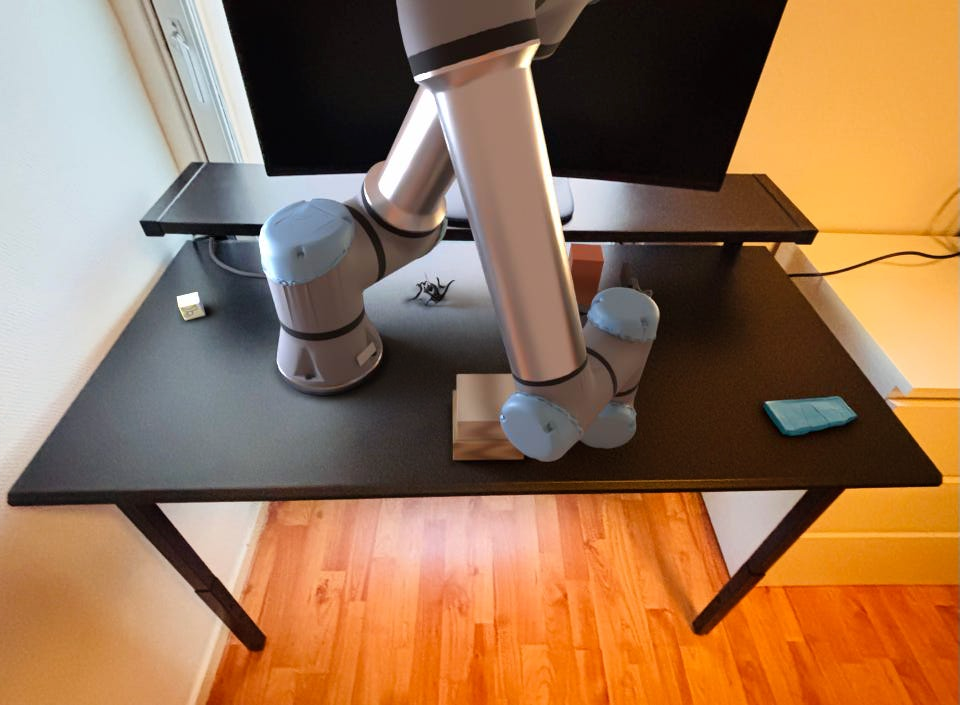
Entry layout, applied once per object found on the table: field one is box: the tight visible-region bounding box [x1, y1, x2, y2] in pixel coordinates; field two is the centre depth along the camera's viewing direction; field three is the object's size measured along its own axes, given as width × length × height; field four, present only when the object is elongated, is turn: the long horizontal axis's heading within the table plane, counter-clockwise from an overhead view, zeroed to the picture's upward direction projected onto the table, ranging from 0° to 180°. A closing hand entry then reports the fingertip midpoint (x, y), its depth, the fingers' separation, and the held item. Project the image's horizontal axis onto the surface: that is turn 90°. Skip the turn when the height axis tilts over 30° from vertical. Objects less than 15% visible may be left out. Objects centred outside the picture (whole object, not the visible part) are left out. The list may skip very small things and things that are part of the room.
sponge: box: [763, 396, 858, 437], centre depth 74 cm, size 2×12×6 cm
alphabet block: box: [176, 291, 206, 321], centre depth 86 cm, size 3×3×3 cm
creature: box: [406, 271, 456, 307], centre depth 91 cm, size 8×5×8 cm
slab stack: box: [452, 373, 525, 461], centre depth 69 cm, size 9×9×7 cm
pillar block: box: [568, 242, 605, 305], centre depth 90 cm, size 5×5×10 cm
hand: (583, 266), depth 91 cm, fingers open, 13 cm apart
